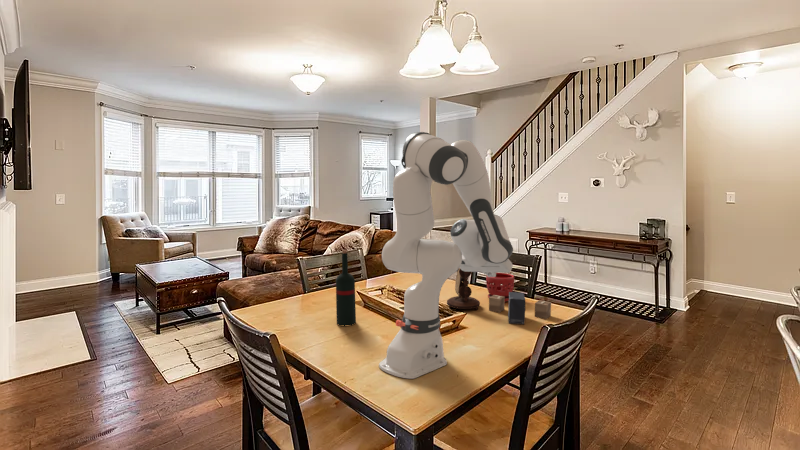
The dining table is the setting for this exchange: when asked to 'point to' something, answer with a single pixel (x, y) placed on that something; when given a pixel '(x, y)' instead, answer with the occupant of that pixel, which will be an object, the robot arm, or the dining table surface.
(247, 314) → the dining table surface
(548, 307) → the walnut block one
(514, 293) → the small box
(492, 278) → the plant pot
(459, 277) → the dark brown knobbly figurine
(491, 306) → the walnut block seven
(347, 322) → the wine bottle
